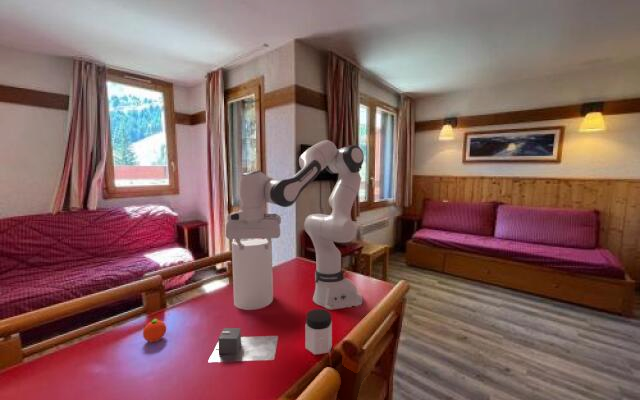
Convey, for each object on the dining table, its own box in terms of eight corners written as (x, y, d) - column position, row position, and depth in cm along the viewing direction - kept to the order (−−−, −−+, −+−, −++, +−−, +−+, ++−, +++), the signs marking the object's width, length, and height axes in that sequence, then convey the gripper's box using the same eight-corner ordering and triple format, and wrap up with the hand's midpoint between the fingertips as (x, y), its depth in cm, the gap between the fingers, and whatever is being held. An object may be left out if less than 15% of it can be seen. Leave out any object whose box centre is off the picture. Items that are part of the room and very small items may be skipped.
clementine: (146, 335, 98) (144, 316, 97) (168, 330, 100) (167, 312, 100) (141, 348, 90) (140, 328, 90) (165, 343, 93) (164, 324, 92)
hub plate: (278, 338, 96) (278, 327, 95) (274, 363, 84) (273, 350, 83) (220, 340, 95) (219, 328, 94) (208, 365, 83) (207, 352, 82)
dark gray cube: (240, 342, 92) (241, 327, 91) (236, 353, 86) (236, 337, 86) (224, 342, 91) (224, 326, 91) (218, 353, 86) (218, 337, 85)
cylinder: (276, 305, 119) (275, 243, 116) (235, 313, 113) (233, 247, 109) (269, 289, 135) (267, 234, 132) (232, 295, 128) (230, 237, 125)
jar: (307, 359, 85) (307, 323, 84) (303, 343, 93) (303, 310, 92) (335, 355, 87) (335, 320, 86) (328, 339, 95) (328, 307, 94)
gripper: (281, 212, 106) (282, 246, 108) (228, 213, 105) (230, 247, 107) (279, 215, 100) (280, 251, 102) (223, 216, 99) (225, 252, 101)
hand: (254, 249), depth 104 cm, fingers open, 8 cm apart
